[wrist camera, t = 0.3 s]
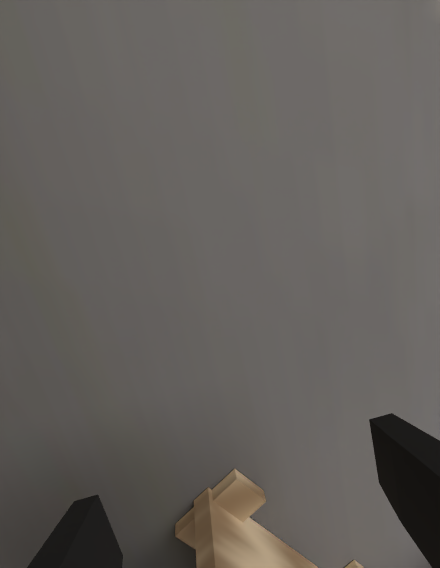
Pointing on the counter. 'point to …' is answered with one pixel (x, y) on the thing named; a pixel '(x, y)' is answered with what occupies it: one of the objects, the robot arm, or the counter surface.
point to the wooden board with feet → (235, 530)
